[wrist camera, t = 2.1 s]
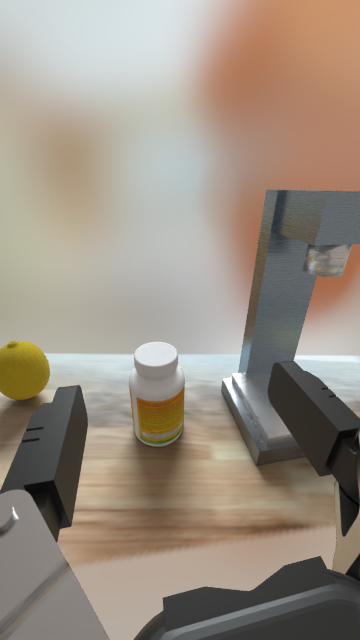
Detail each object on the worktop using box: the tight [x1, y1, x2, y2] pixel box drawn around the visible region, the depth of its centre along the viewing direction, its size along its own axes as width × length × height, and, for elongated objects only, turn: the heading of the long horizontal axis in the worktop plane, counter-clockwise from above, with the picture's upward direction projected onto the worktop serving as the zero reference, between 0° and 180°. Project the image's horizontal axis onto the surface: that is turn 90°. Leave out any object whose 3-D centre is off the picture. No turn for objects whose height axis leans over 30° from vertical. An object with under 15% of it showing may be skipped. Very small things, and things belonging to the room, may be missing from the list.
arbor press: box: [221, 190, 360, 465], centre depth 24 cm, size 15×11×23 cm
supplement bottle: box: [129, 342, 185, 447], centre depth 25 cm, size 5×5×10 cm
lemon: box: [0, 341, 50, 400], centre depth 29 cm, size 6×6×8 cm
